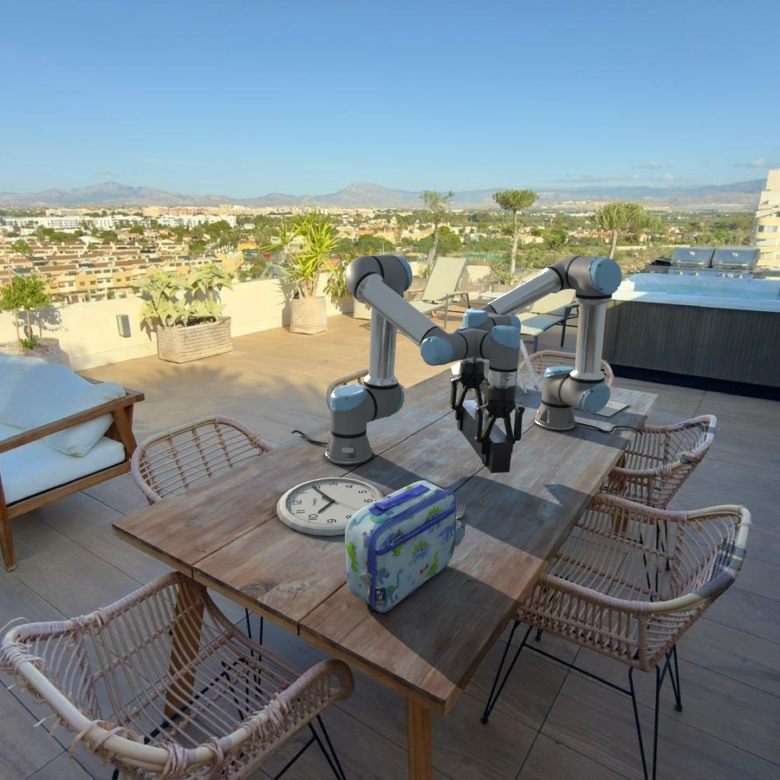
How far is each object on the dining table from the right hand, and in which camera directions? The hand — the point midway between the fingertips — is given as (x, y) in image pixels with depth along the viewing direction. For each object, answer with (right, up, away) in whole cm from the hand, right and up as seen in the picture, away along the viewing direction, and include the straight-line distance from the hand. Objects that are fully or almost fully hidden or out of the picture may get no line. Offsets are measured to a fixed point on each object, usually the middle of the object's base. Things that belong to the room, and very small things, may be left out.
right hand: (468, 428), depth 171 cm
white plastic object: (+22, +14, +80) cm, 84 cm away
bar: (+2, -5, -12) cm, 13 cm away
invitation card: (+66, +5, +55) cm, 86 cm away
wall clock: (-41, -19, -29) cm, 54 cm away
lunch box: (-23, -29, -59) cm, 70 cm away
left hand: (+4, -8, -25) cm, 27 cm away
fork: (-9, -22, -37) cm, 44 cm away
